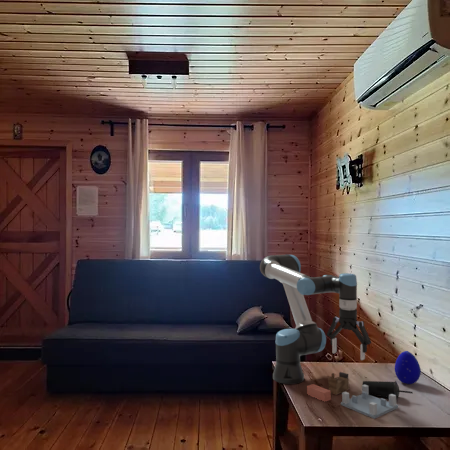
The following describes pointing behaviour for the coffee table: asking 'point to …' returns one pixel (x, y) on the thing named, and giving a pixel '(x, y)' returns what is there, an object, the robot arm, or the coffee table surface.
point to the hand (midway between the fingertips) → (348, 355)
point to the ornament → (407, 368)
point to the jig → (369, 403)
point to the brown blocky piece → (338, 383)
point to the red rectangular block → (319, 392)
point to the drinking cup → (384, 388)
